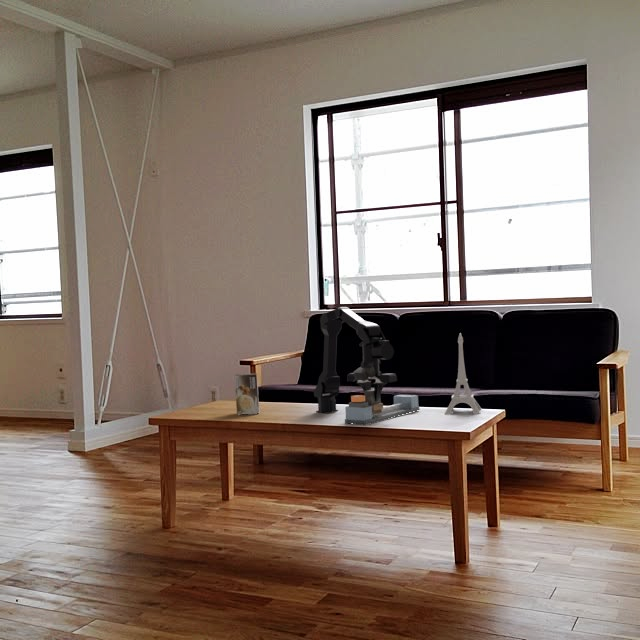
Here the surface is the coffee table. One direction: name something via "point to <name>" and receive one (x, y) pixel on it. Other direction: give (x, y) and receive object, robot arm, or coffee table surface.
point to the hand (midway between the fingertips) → (372, 401)
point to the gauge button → (358, 398)
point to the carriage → (373, 401)
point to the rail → (363, 412)
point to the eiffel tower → (462, 381)
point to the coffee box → (247, 393)
